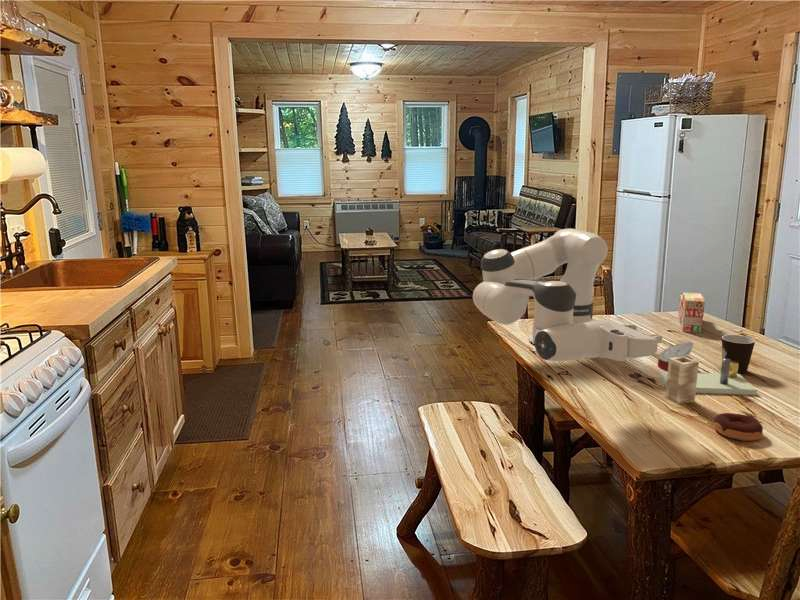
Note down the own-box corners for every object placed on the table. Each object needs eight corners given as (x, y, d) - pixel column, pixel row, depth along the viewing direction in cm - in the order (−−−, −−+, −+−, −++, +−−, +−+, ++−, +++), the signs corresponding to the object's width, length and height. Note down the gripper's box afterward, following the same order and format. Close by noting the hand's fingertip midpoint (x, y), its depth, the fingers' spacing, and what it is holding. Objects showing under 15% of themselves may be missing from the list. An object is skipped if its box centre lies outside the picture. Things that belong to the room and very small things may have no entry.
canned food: (685, 388, 176) (687, 365, 170) (652, 376, 182) (652, 354, 176) (700, 363, 181) (701, 340, 175) (666, 353, 188) (667, 330, 182)
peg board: (670, 391, 161) (670, 386, 161) (658, 376, 173) (658, 371, 172) (756, 395, 158) (757, 389, 158) (738, 378, 170) (739, 373, 169)
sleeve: (678, 404, 153) (682, 364, 151) (665, 396, 158) (669, 358, 155) (694, 401, 155) (698, 362, 152) (680, 394, 159) (684, 356, 157)
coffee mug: (750, 378, 170) (754, 345, 168) (716, 372, 174) (720, 340, 172) (752, 365, 179) (756, 334, 177) (720, 361, 184) (723, 330, 182)
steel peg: (721, 384, 162) (724, 360, 160) (718, 381, 164) (721, 358, 162) (729, 384, 161) (731, 360, 160) (726, 382, 163) (729, 358, 162)
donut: (766, 432, 137) (768, 417, 136) (757, 448, 130) (759, 431, 129) (719, 420, 144) (721, 405, 143) (707, 435, 137) (709, 419, 136)
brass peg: (726, 377, 166) (728, 364, 165) (722, 373, 169) (724, 360, 169) (738, 378, 166) (740, 364, 165) (734, 374, 169) (736, 361, 168)
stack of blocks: (677, 317, 234) (680, 287, 231) (695, 318, 232) (698, 288, 229) (682, 332, 215) (685, 299, 212) (701, 333, 212) (705, 300, 210)
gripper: (575, 339, 155) (620, 333, 159) (625, 364, 136) (674, 357, 140) (576, 315, 153) (621, 311, 157) (627, 338, 134) (677, 331, 138)
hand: (647, 333), depth 148 cm, fingers open, 8 cm apart
